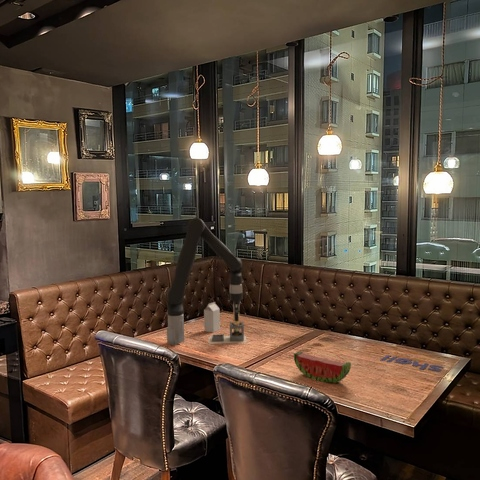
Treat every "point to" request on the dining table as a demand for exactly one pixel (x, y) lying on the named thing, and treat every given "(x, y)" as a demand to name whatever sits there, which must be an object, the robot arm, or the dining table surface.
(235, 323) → the brass tube
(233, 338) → the collar stand
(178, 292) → the robot arm
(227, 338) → the base board
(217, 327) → the milk carton
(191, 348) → the dining table surface
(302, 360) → the fruit slice
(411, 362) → the signage
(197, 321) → the dining table surface
